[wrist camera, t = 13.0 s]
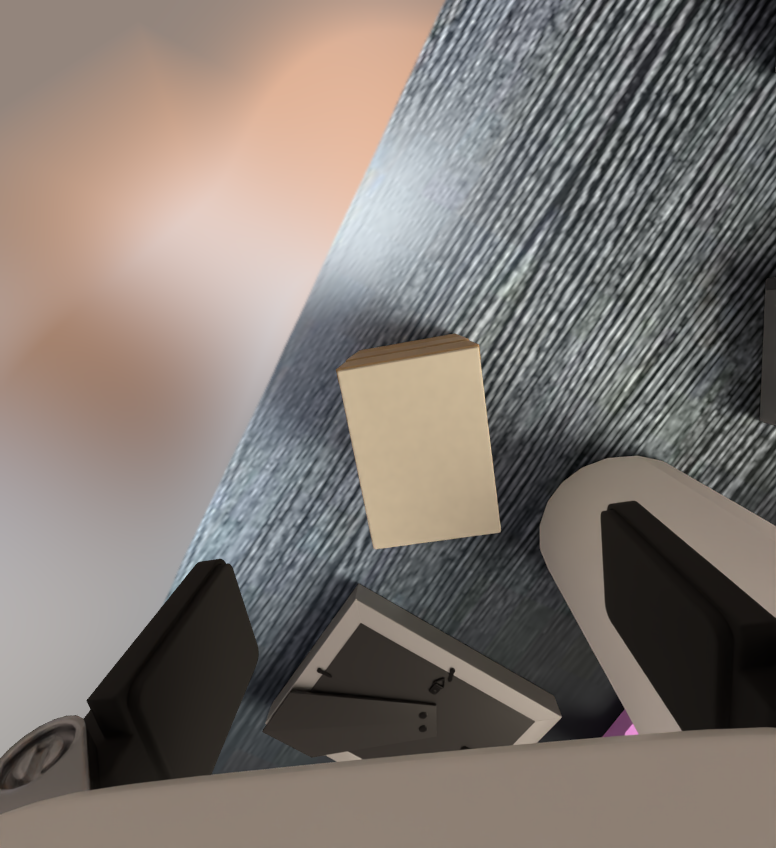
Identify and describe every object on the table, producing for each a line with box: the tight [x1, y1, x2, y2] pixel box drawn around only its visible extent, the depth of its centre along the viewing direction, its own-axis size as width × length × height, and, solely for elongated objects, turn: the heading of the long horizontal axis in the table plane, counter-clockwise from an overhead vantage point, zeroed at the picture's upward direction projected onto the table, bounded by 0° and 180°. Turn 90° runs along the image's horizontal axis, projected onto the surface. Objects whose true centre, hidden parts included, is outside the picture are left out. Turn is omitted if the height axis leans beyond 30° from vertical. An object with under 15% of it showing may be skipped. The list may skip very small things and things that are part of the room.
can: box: [540, 456, 776, 734], centre depth 24 cm, size 12×12×20 cm
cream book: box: [336, 340, 501, 549], centre depth 23 cm, size 10×7×4 cm
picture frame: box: [262, 584, 562, 762], centre depth 37 cm, size 16×3×21 cm
